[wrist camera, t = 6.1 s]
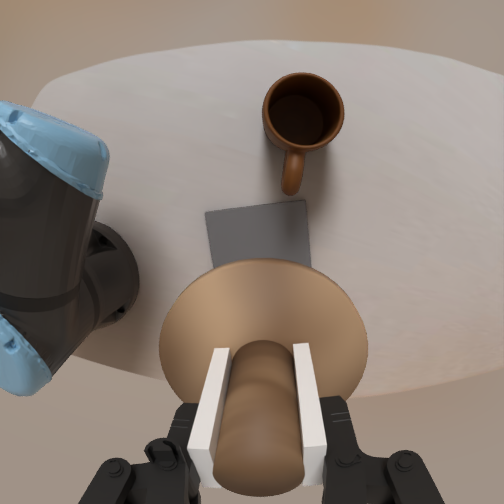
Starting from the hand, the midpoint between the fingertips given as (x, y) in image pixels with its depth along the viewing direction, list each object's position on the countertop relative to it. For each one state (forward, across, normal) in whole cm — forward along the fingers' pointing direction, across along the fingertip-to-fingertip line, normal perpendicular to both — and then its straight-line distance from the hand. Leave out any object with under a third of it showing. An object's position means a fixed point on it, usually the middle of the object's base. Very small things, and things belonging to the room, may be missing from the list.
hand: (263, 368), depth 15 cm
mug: (+25, +4, +12) cm, 28 cm away
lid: (+1, 0, 0) cm, 1 cm away
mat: (+25, -1, -1) cm, 25 cm away
